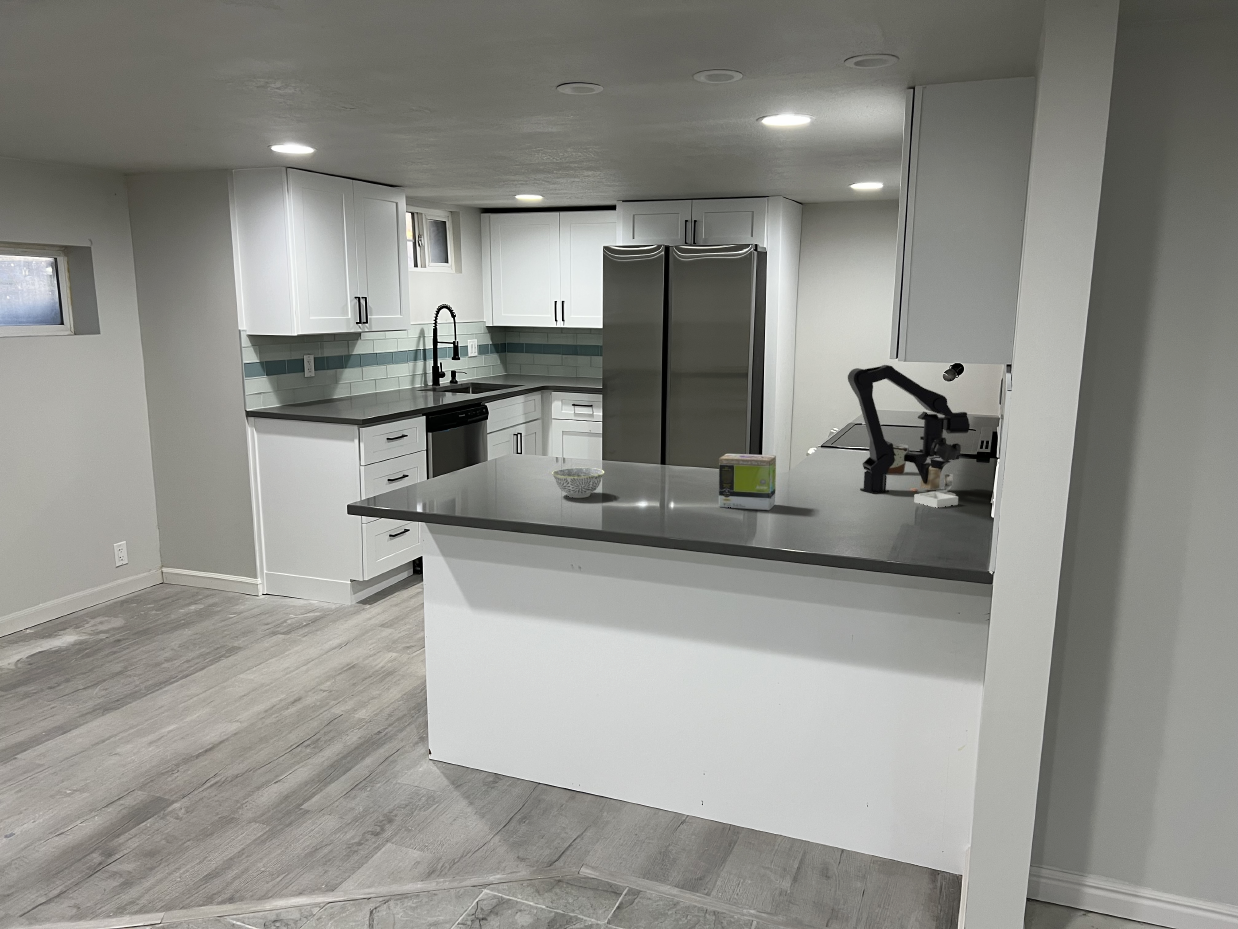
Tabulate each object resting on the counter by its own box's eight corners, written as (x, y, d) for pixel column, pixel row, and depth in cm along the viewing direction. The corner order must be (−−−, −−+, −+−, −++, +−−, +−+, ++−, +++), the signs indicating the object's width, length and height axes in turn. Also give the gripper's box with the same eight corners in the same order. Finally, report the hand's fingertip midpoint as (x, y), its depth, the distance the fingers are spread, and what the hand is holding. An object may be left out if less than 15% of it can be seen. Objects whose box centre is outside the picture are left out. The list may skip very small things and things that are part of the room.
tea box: (775, 504, 265) (777, 454, 262) (769, 511, 256) (770, 460, 253) (725, 500, 270) (726, 451, 267) (717, 507, 261) (718, 457, 258)
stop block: (930, 489, 282) (931, 470, 281) (920, 487, 285) (921, 468, 284) (939, 488, 283) (940, 469, 282) (929, 486, 287) (930, 467, 286)
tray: (936, 507, 260) (937, 499, 260) (914, 502, 268) (914, 494, 267) (957, 504, 264) (958, 496, 264) (934, 499, 272) (935, 491, 271)
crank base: (942, 500, 270) (942, 497, 270) (902, 491, 284) (902, 488, 284) (961, 497, 274) (961, 494, 274) (920, 488, 288) (921, 485, 288)
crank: (945, 494, 273) (946, 480, 273) (935, 493, 275) (936, 479, 274) (953, 487, 283) (954, 474, 282) (943, 486, 285) (944, 473, 284)
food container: (904, 471, 318) (906, 443, 317) (908, 474, 312) (909, 446, 311) (868, 470, 320) (870, 442, 318) (871, 473, 314) (873, 445, 312)
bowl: (549, 501, 269) (549, 476, 268) (555, 490, 285) (554, 467, 283) (603, 501, 268) (603, 476, 267) (605, 490, 284) (605, 467, 283)
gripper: (931, 439, 270) (928, 490, 273) (975, 435, 279) (971, 484, 281) (903, 434, 280) (901, 483, 282) (946, 430, 288) (943, 478, 291)
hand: (930, 482), depth 284 cm, fingers closed on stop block, 4 cm apart
